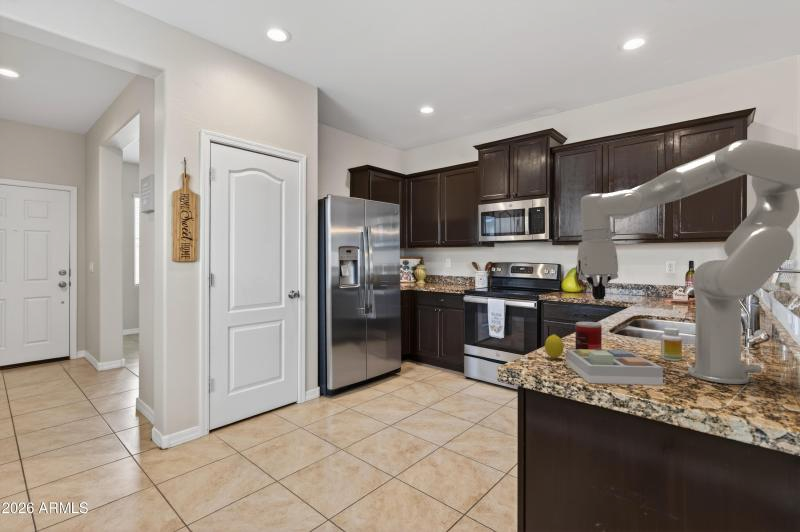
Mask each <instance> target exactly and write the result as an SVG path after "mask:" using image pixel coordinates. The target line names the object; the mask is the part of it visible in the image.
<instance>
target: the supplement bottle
mask: <svg viewBox="0 0 800 532" xmlns="http://www.w3.org/2000/svg"><path fill="white" fill-rule="evenodd" d="M663 333H664V334H662V335H661V337H660V338H661V340H660V345H661V346H660V348H661V349H660V350H661V353H660V355H661V358H662V359H663V360H667V361H672V362H681V361H682V360H683V350H682V348H683V345H682V344H683V343H682V342H683V340H682V339H683V338H682V336H680V335H679V334H680V329H679V328H674V327H664V328H663Z"/></svg>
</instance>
